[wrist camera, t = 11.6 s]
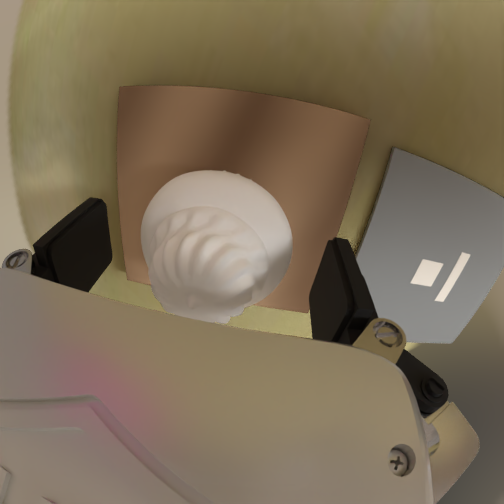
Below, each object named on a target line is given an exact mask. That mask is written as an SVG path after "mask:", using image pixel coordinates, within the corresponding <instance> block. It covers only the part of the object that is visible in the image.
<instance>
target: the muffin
mask: <svg viewBox="0 0 504 504" xmlns="http://www.w3.org/2000/svg"><path fill="white" fill-rule="evenodd" d="M141 245H142V251H143V255H144V258H145V261H146V264H147V266H148V268H149V270H148V275H149V279H150V282H151V289H152V292H153V294H154V296H155V298H156V299H157V300H158V301H159V302H160V303H161V305H162V307H163V308H164V309H165V310H166V311H167V312H169V313H174V314H175V315H177V316H182V317H186V318H191V319H196V320H201V321H206V322H211V323H215V322H218V323H222V324H225V323H227V322H228V321H229V320H230V317H234V316H238V315H241V314H242V313H243V309H244V308H246V307H248V306H251V305H253V304H255V303H257V302H259V301H261V300H263V299H264V298H265V297H267V296H268V295H269V294H270V293H272V292H273V290H274V289H275V288H276V287H277V286H278V285H279V283H280V282H281V280H282V279H283V277H284V276H285V274H286V272H287V269H288V267H289V264H290V261H291V256H292V249H293V241H292V233H291V229H290V225H289V222H288V220H287V217H286V215H285V213H284V211H283V210H282V208H281V206H280V205H279V203H278V202H277V201H276V200H275V198H274V197H273V196H272V195H271V194H270V193H269V192H268V191H266V190H265V189H264V188H263V187H261V186H260V185H258V184H257V183H255V182H253V181H252V179H247V178H245V177H242V176H240V174H233V173H230V172H227V171H225V170H224V171H214V170H203V171H194V172H189V173H185V174H182V175H180V176H177V177H175V178H174V179H172V180H170V181H169V182H168V183H166V184H165V185H164V186H163V187H162V188H161V189H160V190H159V191H158V192H157V193H156V195H155V196H154V197H153V199H152V200H151V202H150V203H149V205H148V207H147V209H146V211H145V213H144V216H143V220H142V225H141Z"/></svg>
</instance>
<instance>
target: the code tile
mask: <svg viewBox="0 0 504 504" xmlns="http://www.w3.org/2000/svg"><path fill="white" fill-rule="evenodd" d="M355 258H356V260H357V263H358V266H359V268H360V271H361V273H362V275H363V276H364V278H365V281H366V283H367V286H368V289H369V292H370V294H371V297H372V300H373V303H374V306H375V309H376V312H377V315H378V318H386V319H389V320H391V321H393V322H395V323H396V324H398V325H399V326H400V327H401V328H402V330H403V331H404V333H405V335H406V340H407V342H414V343H453V341H454V340H455V339H456V338H457V336H458V335H459V334H460V332H461V331H462V330H463V329H464V327H465V326H466V325H467V323H468V322H469V321H470V319H471V318H472V316H473V315H474V314H475V312H476V311H477V309H478V308H479V306H480V305H481V304H482V302H483V301H484V299H485V297H486V296H487V294H488V293H489V291H490V290H491V288H492V286H493V285H494V283H495V282H496V280H497V278H498V276H499V275H500V273H501V271H502V269H503V268H504V197H502V196H500V195H498V194H497V193H495V192H493V191H491V190H489V189H488V188H486V187H484V186H482V185H480V184H478V183H476V182H474V181H472V180H470V179H468V178H466V177H464V176H462V175H460V174H458V173H456V172H454V171H452V170H450V169H447V168H445V167H443V166H441V165H438V164H436V163H434V162H431V161H429V160H427V159H424V158H422V157H419V156H417V155H414V154H411V153H409V152H406V151H404V150H401V149H398V148H395V147H392V151H391V154H390V158H389V161H388V165H387V168H386V171H385V174H384V178H383V181H382V184H381V187H380V190H379V193H378V196H377V199H376V202H375V205H374V208H373V210H372V213H371V216H370V219H369V222H368V224H367V227H366V230H365V232H364V235H363V238H362V240H361V243H360V245H359V248H358V250H357V253H356V255H355Z"/></svg>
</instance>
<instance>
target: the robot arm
mask: <svg viewBox="0 0 504 504" xmlns="http://www.w3.org/2000/svg"><path fill="white" fill-rule="evenodd" d="M33 247H34V251H35V254H33V255H32V252H31V251H30V250H28V249H20V250H17V251H14V252H12V253H11V254H9V255H8V256H7V257H6V258H5V260H4V261H3V264H2V268H0V504H436V503H437V502H438V501H439V500H440V499H441V498H442V496H443V495H444V494H445V493H446V492H447V491H448V490H449V489H450V488H451V487H452V485H453V484H454V483H455V482H456V481H457V479H458V478H459V477H460V476H461V475H462V473H463V472H464V471H465V470H466V468H467V467H468V466H469V464H470V463H471V462H472V460H473V459H474V458H475V456H476V455H477V453H478V451H479V445H480V444H479V438H478V436H477V434H476V433H475V431H474V430H473V428H472V427H471V426H470V424H469V423H468V422H467V420H466V419H465V417H464V416H463V415H462V414H461V412H460V411H459V409H458V408H457V407H456V405H455V404H454V403H453V402H451V403H450V404H449V403H448V401H447V398H448V389H447V386H446V384H445V382H444V381H443V379H441V378H440V377H439V376H438V375H437V374H436V373H434V372H433V371H432V370H431V369H429V368H428V367H427V366H426V365H424V364H423V363H421V362H420V361H419V360H418V359H416V358H415V357H414V356H412V355H411V354H410V353H409V352H408V351H406V350H405V349H404V347H405V345H406V342H407V340H406V335H405V333H404V331H403V330H402V328H401V327H400V326H399V325H398V324H396V323H395V322H393V321H391V320H389V319H386V318H378V315H377V312H376V309H375V306H374V303H373V300H372V297H371V294H370V292H369V289H368V286H367V283H366V281H365V278H364V276H363V275H362V273H361V271H360V268H359V266H358V263H357V260H356V258H355V255H354V253H353V250H352V248H351V245H350V243H349V241H348V240H346V239H341V238H336V237H334V238H333V240H328V242H327V245H326V247H325V250H324V253H323V256H322V259H321V262H320V265H319V268H318V271H317V273H316V276H315V279H314V282H313V284H312V287H311V290H310V293H309V306H310V316H311V326H312V337H313V339H310V338H303V337H297V336H290V335H282V334H275V333H269V332H262V331H256V330H250V329H244V328H238V327H233V326H227V325H222V324H217V323H211V322H206V321H201V320H196V319H191V318H186V317H182V316H177V315H173V314H168V313H164V312H159V311H155V310H151V309H147V308H143V307H139V306H135V305H131V304H127V303H123V302H119V301H116V300H112V299H108V298H105V297H101V296H98V295H94V294H91V293H88V292H89V291H90V289H91V288H92V286H93V285H94V284H95V282H96V281H97V280H98V278H99V277H100V276H101V274H102V273H103V272H104V270H105V269H106V268H107V267H108V265H109V264H110V263H111V261H112V249H111V242H110V234H109V226H108V217H107V207H106V204H105V203H104V202H103V200H102V199H98V198H89V199H87V200H86V201H85V202H83V203H82V204H81V205H80V206H78V207H77V208H76V209H74V210H73V211H72V212H71V213H69V214H68V215H67V216H66V217H64V218H63V219H62V220H61V221H60V222H58V223H57V224H56V225H55V226H54V227H52V228H51V229H50V230H49V231H48V232H47V233H45V234H44V235H43V236H42V237H41V238H40V239H39V240H38V241H37V242H35V243H34V244H33Z"/></svg>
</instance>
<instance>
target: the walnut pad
mask: <svg viewBox="0 0 504 504" xmlns="http://www.w3.org/2000/svg"><path fill="white" fill-rule="evenodd" d="M370 121H371V120H370V119H367V118H364V117H360V116H357V115H354V114H350V113H347V112H344V111H340V110H336V109H333V108H329V107H325V106H321V105H317V104H313V103H308V102H304V101H299V100H294V99H289V98H284V97H279V96H273V95H267V94H261V93H254V92H247V91H239V90H231V89H221V88H209V87H194V86H124V87H120V89H119V102H118V121H117V181H118V200H119V214H120V226H121V236H122V245H123V253H124V260H125V268H126V274H127V280H130V281H135V282H139V283H143V284H148V285H151V282H150V279H149V275H148V270H149V268H148V266H147V264H146V261H145V258H144V255H143V251H142V245H141V225H142V220H143V216H144V213H145V211H146V209H147V207H148V205H149V203H150V202H151V200H152V199H153V197H154V196H155V195H156V193H157V192H158V191H159V190H160V189H161V188H162V187H163V186H164V185H165V184H166V183H168V182H169V181H170V180H172V179H174V178H175V177H177V176H180V175H182V174H185V173H189V172H194V171H203V170H214V171H224V170H225V171H227V172H230V173H233V174H240V176H242V177H245V178H247V179H252V181H253V182H255V183H257V184H258V185H260V186H261V187H263V188H264V189H265V190H266V191H268V192H269V193H270V194H271V195H272V196H273V197H274V198H275V200H276V201H277V202H278V203H279V205H280V206H281V208H282V210H283V211H284V213H285V215H286V217H287V220H288V222H289V225H290V229H291V233H292V241H293V249H292V256H291V261H290V264H289V267H288V269H287V272H286V274H285V276H284V277H283V279H282V280H281V282H280V283H279V285H278V286H277V287H276V288H275V289H274V290H273V292H272V293H270V294H269V295H268V296H267V297H265V298H264V299H263V300H261V301H259V302H257V303H255V304H253V305H256V306H263V307H269V308H275V309H282V310H288V311H295V312H302V313H308V312H309V309H310V306H309V293H310V290H311V287H312V284H313V282H314V279H315V276H316V273H317V271H318V268H319V265H320V262H321V259H322V256H323V253H324V250H325V247H326V245H327V242H328V240H333V238H334V237H337V234H338V231H339V228H340V225H341V222H342V219H343V216H344V213H345V210H346V207H347V203H348V200H349V197H350V194H351V190H352V187H353V184H354V180H355V177H356V174H357V170H358V167H359V163H360V159H361V156H362V152H363V148H364V145H365V141H366V137H367V133H368V129H369V125H370Z"/></svg>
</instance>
